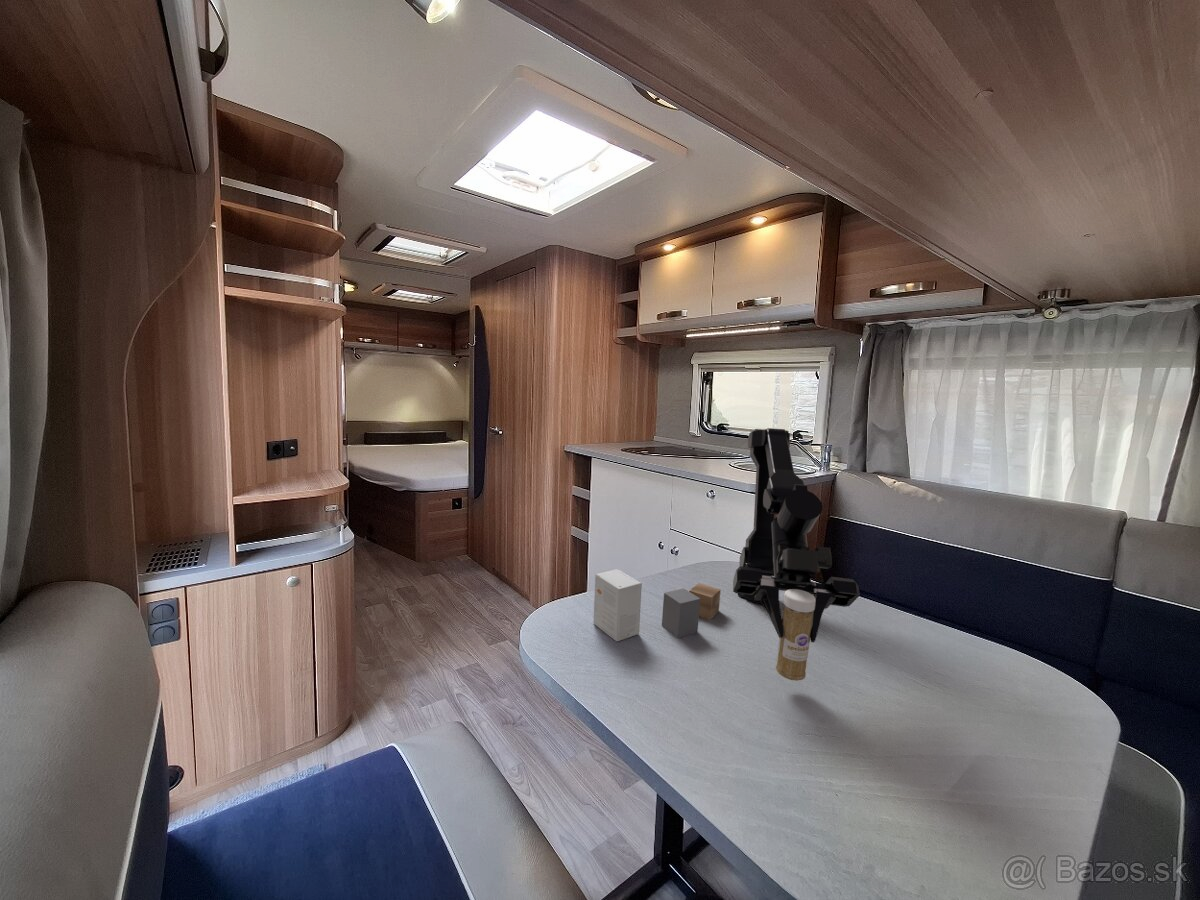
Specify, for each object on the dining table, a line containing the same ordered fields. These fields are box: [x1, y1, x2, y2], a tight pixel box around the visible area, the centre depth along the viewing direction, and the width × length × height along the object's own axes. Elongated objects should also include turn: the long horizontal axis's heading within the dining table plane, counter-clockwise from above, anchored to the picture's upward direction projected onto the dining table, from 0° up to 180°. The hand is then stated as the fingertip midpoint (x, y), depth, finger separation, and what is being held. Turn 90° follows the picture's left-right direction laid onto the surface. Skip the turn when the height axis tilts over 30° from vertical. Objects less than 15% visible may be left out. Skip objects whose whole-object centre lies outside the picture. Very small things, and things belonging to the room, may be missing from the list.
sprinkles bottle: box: [775, 589, 816, 681], centre depth 74 cm, size 5×5×14 cm
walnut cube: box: [688, 582, 722, 621], centre depth 101 cm, size 5×5×5 cm
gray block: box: [661, 587, 700, 638], centre depth 93 cm, size 5×5×7 cm
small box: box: [592, 569, 643, 643], centre depth 91 cm, size 8×6×10 cm
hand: (796, 639), depth 73 cm, fingers closed on sprinkles bottle, 4 cm apart
